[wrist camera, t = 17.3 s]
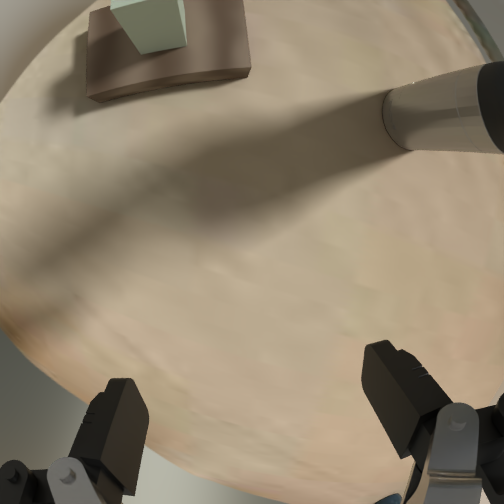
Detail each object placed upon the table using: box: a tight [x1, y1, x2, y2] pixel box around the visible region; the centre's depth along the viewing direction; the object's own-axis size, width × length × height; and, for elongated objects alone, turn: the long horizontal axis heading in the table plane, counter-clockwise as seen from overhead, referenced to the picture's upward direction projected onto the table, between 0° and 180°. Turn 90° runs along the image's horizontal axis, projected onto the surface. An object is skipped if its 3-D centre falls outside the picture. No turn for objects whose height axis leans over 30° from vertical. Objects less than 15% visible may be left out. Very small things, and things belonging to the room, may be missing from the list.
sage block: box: [110, 0, 187, 55], centre depth 18 cm, size 5×5×11 cm
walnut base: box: [87, 0, 251, 103], centre depth 25 cm, size 18×12×4 cm, turn 96°
